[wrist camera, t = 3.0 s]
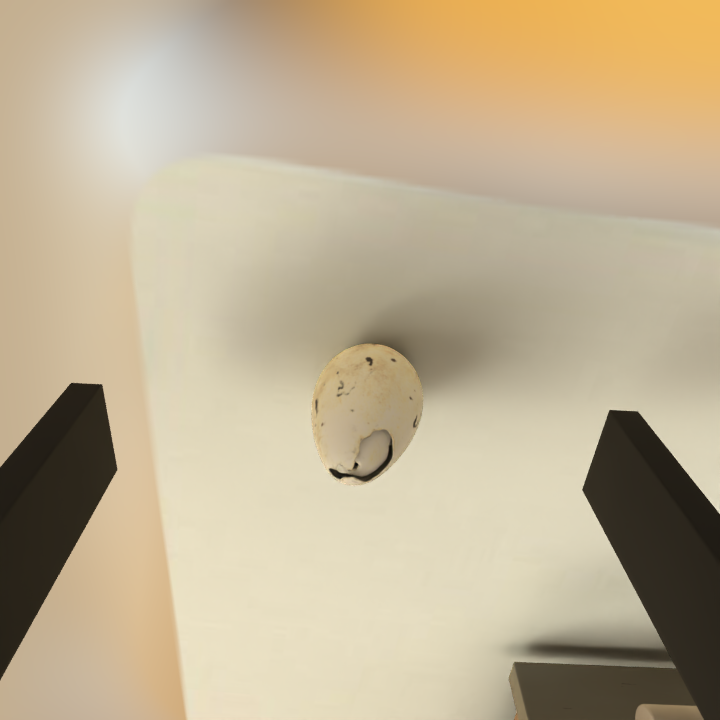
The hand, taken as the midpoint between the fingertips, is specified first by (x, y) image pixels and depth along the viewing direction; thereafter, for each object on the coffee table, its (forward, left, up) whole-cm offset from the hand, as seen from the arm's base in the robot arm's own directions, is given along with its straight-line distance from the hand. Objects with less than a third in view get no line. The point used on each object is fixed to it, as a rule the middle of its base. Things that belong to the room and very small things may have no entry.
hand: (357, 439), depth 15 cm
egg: (0, 0, -4) cm, 4 cm away
